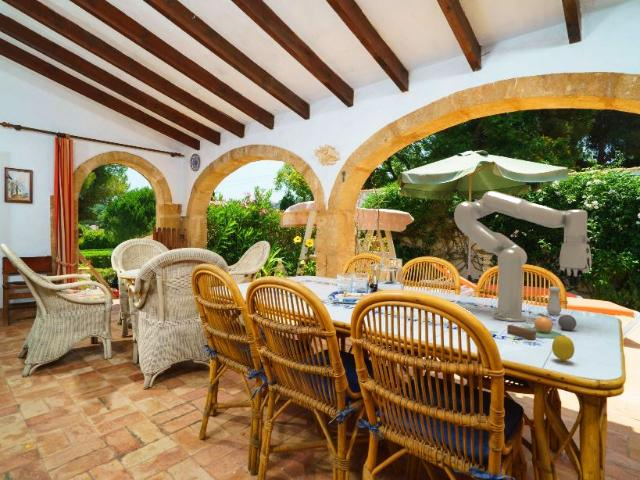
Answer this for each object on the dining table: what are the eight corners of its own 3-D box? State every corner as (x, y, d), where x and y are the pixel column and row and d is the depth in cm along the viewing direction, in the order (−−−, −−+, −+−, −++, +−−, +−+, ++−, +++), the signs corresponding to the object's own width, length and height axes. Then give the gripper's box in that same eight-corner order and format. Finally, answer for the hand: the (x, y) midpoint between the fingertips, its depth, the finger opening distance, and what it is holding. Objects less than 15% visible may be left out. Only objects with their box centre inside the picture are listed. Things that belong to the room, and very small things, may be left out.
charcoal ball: (580, 321, 146) (573, 334, 145) (564, 315, 150) (557, 328, 150) (577, 316, 142) (570, 329, 141) (560, 310, 147) (553, 323, 146)
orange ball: (558, 324, 141) (551, 337, 139) (542, 320, 146) (536, 333, 144) (551, 315, 138) (544, 329, 137) (535, 312, 144) (528, 325, 142)
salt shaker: (564, 315, 171) (564, 287, 171) (551, 315, 171) (552, 287, 171) (556, 313, 177) (556, 286, 177) (544, 312, 177) (544, 285, 177)
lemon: (577, 365, 107) (578, 338, 106) (556, 363, 108) (557, 336, 107) (568, 359, 112) (569, 332, 112) (548, 357, 113) (549, 331, 113)
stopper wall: (532, 340, 131) (532, 331, 131) (507, 333, 140) (507, 325, 140) (535, 339, 132) (536, 331, 132) (510, 332, 141) (511, 324, 141)
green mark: (546, 340, 132) (546, 339, 132) (511, 330, 144) (511, 329, 144) (570, 335, 137) (570, 335, 137) (535, 326, 150) (535, 326, 150)
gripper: (601, 241, 143) (599, 288, 144) (562, 240, 157) (560, 283, 157) (589, 241, 140) (588, 289, 141) (550, 239, 154) (549, 283, 154)
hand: (573, 285), depth 149 cm, fingers closed
